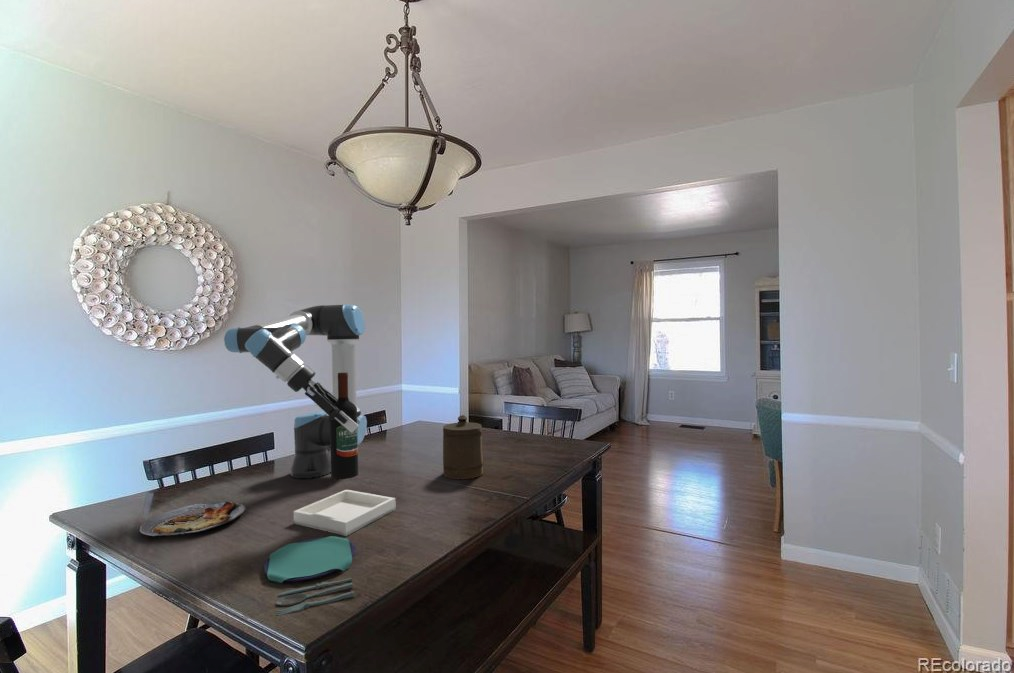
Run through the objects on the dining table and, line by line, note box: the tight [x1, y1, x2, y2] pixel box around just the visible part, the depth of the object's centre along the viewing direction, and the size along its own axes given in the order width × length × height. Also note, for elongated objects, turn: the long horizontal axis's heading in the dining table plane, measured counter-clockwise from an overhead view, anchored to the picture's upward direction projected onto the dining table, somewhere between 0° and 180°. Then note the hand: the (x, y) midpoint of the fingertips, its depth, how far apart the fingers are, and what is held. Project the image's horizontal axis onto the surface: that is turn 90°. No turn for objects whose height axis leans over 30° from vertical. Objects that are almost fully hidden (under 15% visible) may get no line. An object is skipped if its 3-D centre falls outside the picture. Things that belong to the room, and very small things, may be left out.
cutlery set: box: [263, 535, 356, 617], centre depth 106 cm, size 20×30×2 cm, turn 23°
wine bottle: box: [330, 373, 359, 480], centre depth 138 cm, size 8×8×30 cm
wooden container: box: [442, 414, 484, 480], centre depth 177 cm, size 15×15×22 cm
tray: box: [292, 489, 397, 537], centre depth 138 cm, size 20×20×4 cm
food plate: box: [139, 500, 247, 537], centre depth 136 cm, size 25×23×4 cm
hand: (356, 426), depth 138 cm, fingers closed on wine bottle, 7 cm apart
